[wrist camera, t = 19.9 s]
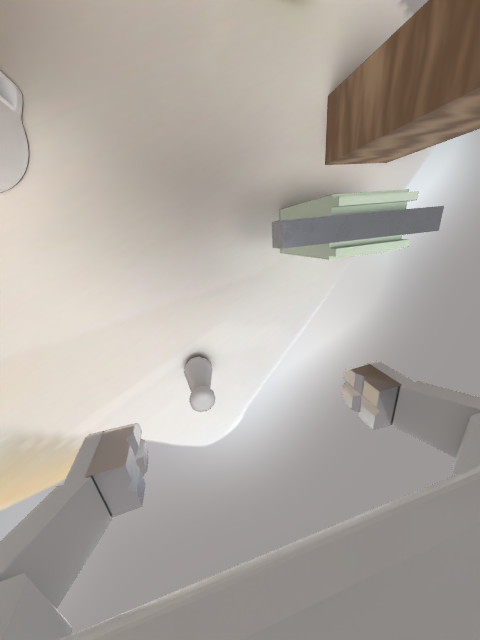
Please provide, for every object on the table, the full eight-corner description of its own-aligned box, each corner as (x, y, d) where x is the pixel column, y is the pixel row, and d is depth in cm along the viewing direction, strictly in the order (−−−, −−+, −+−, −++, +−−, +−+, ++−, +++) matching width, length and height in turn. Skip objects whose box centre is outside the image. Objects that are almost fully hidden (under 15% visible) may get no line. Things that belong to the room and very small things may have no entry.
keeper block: (280, 252, 45) (335, 260, 30) (279, 209, 42) (339, 192, 27) (332, 246, 48) (408, 250, 32) (334, 205, 45) (419, 187, 29)
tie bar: (272, 247, 28) (282, 248, 26) (271, 222, 27) (282, 220, 24) (417, 231, 33) (438, 230, 30) (421, 208, 32) (443, 206, 29)
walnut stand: (325, 164, 42) (537, 57, 17) (328, 96, 38) (602, -166, 13) (386, 162, 45) (644, 68, 20) (394, 98, 41) (722, -114, 16)
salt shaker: (210, 351, 49) (220, 387, 37) (211, 373, 51) (220, 414, 39) (182, 354, 47) (184, 392, 36) (184, 377, 49) (186, 420, 37)
